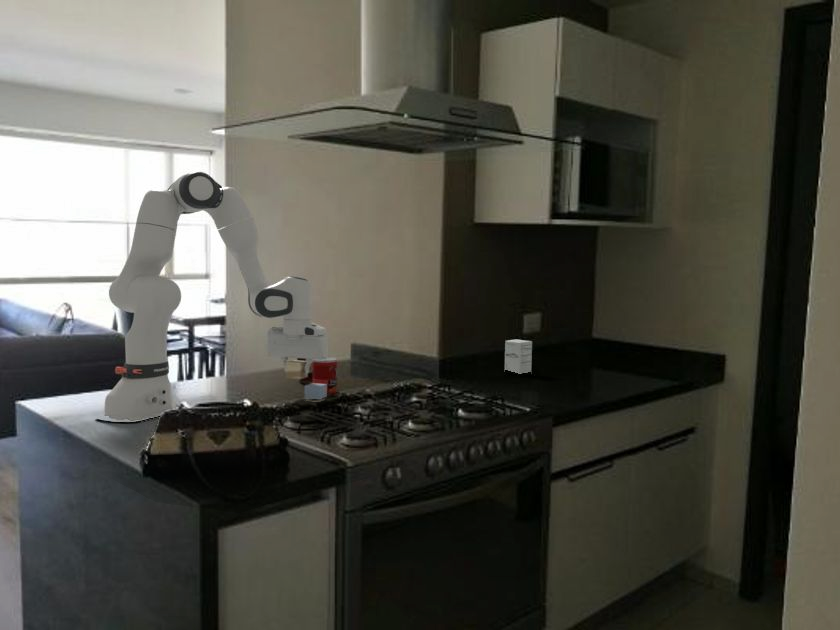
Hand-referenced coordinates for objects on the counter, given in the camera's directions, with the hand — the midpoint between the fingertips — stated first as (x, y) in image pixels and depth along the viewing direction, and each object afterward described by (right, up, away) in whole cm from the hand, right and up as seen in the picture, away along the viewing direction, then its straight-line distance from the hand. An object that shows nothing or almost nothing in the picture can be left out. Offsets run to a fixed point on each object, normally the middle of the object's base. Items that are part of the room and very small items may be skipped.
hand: (296, 372), depth 236 cm
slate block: (+7, -9, -5) cm, 12 cm away
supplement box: (+75, -4, +44) cm, 87 cm away
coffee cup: (0, -6, +26) cm, 27 cm away
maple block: (0, -2, 0) cm, 2 cm away
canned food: (+8, -7, +9) cm, 14 cm away
